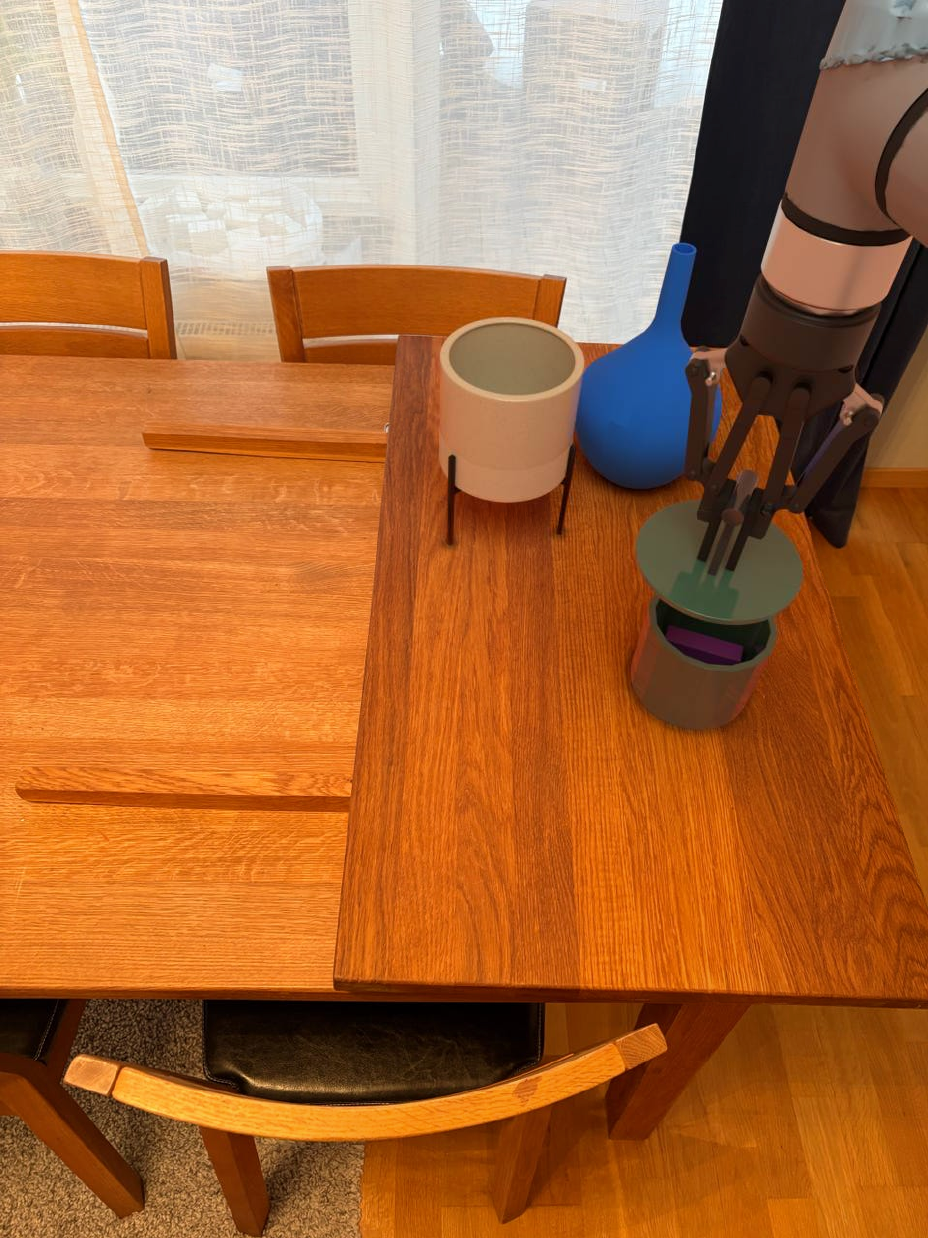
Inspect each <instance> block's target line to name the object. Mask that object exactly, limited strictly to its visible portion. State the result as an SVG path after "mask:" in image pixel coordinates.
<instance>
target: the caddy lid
mask: <svg viewBox="0 0 928 1238" xmlns="http://www.w3.org/2000/svg"><path fill="white" fill-rule="evenodd" d="M735 480H736V482H735V485H734V487H733V489H732V492H731V494H730V497H729V499H728V501H727V503H726V505H725V508H724V510H723V513H722V521H721V524H720V526H719V529H718V532H717V535H716V537H715V540H714V542H713V545H712V547H711V550H710V552H709V554H708V557H707V559H706V561H704V560H702V559H699V558H697V556H698V553H699V550H700V547H701V545H702V542H703V539H704V536H705V533H706V530H707V527H708V524H709V523H707V522H704V521H701V520H698V519H697V511H698V508H699V505H700V502H701V499H695V500H693V499H692V500H684V501H680V502H675V503H672V504H669V505H667V506H665V507H663V508H661V509H659V510H657V511H655V512H654V513H653V514H652V515H651V516H649V517H648V518H647V519H646V521H645V522H644V523H643V524H642V526H641V527H640V529H639V531H638V534H637V536H636V540H635V543H634V544H635V545H634V558H635V564H636V566H637V570H638V572H639V575H640V577H641V578H642V579H643V581H644V583H645V584H646V585H647V587H648V589H650V590H651V591H652V592H653V593H655V594H656V595H657V596H658V597H659V598H661V599H662V600H663V601H664V602H666V603H667V604H669V605H670V606H672V607H673V608H675V609H677V610H679V611H680V612H682V613H684V614H687V615H689V616H692V617H694V618H697V619H700V620H704V621H707V622H712V623H717V624H726V625H744V624H752V623H757V622H761V621H764V620H767V619H770V618H772V617H774V618H775V617H776V616H777V615H780V614H781V613H782V612H783V611H784V612H785V610H786V609H787V608H788V607H789V606H790V605H791V604H792V603H793V602H794V601H795V599H796V598H797V596H798V594H799V592H800V590H801V587H802V585H803V584H802V583H803V578H804V568H803V562H802V559H801V556H800V553H799V552H798V549H797V548H796V545H794V543H793V542H792V540H791V538H789V536H788V535H787V534H786V533H785V532H784V531H783V530H782V529H780V527H778V525H776V524H775V523H774V522H772V521H771V523H770V526H769V528H768V530H767V533H766V535H765V537H763V538H762V539H761V540H759V539H756V538H753V537H750V536H748V538H747V541H746V543H745V546H744V548H743V551H742V553H741V556H740V558H739V561H738V563H737V565H736V568H735V570H734V571H733V570H731V569H728V568H725V567H726V564H727V562H728V559H729V557H730V554H731V552H732V549H733V546H734V544H735V541H736V539H737V536H738V534H739V531H740V529H741V526H742V523H743V521H744V519H745V516H746V514H747V511H748V508H749V505H750V503H751V500H752V498H753V495H754V493H755V490H756V488H757V487H758V486H759V483H760V476H759V474H758V473H757V472H756V471H754V470H751V469H744V470H741V471H740V472H738V474H737V477H736V479H735Z"/></svg>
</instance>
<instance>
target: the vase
mask: <svg viewBox="0 0 928 1238" xmlns="http://www.w3.org/2000/svg"><path fill="white" fill-rule="evenodd" d="M696 254H697V248H696V247H695V246H694V245H693V244H691V243H687V242H677V243H674V244H673V245H672V246H671V249H670V253H669V258H668V261H667V264H666V269H665V272H664V277H663V281H662V285H661V289H660V292H659V296H658V301H657V306H656V310H655V314H654V317H653V319H652V321H651V323H650V324H649V325H648V327H647V328H646V329H645V330H643V332H640V333H639V334H638V335H636V336H635V337H633V338H632V339H630V340H629V341H626V342H625V343H623V344H622V345H620V346H619V347H617V348H615V349H613V350H611V351H609V352H607V353H605V354H604V355H601V356H600V357H598V358H596V359H594V360H593V361H592V362H591V363H590V364H589V365H588V366H586V367H585V368H584V372H583V378H582V384H581V391H580V397H579V403H578V409H577V416H576V422H575V428H574V430H575V434H576V437H577V441H578V444H579V446H580V449H581V451H582V453H583V455H584V456H585V458H586V459H587V461H588V463H589V464H590V466H592V468H593V469H594V470H595V471H596V472H597V473H598V474H600V475H602V477H604V478H605V479H606V480H608V481H609V482H611V483H613V484H615V485H617V486H620V487H624V488H627V489H631V490H632V489H633V490H644V489H645V490H646V489H653V488H658V487H662V486H664V485H667V484H670V483H671V482H673V481H675V480H676V479H678V478H679V477H681V476H682V475H684V469H685V458H686V448H687V437H688V426H689V416H690V405H691V391H690V388H689V384H688V381H687V378H686V374H685V368H686V366H687V364H688V362H689V361H690V359H691V357H692V355H693V353H694V351H693V350H692V349H691V347H690V345H689V343H688V342H687V341H686V339H685V338H684V335H683V331H682V323H681V321H682V316H683V313H684V310H685V309H684V308H685V305H686V301H687V297H688V292H689V287H690V284H691V283H690V281H691V278H692V273H693V270H694V269H693V268H694V263H695V260H696ZM722 413H723V397H722V391H721V388H720V386H719V384H718V383H717V390H716V399H715V407H714V416H713V424H712V433H711V441H710V446H711V445H712V444H713V443H714V441H715V439H716V436H717V433H718V430H719V426H720V423H721V419H722Z"/></svg>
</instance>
